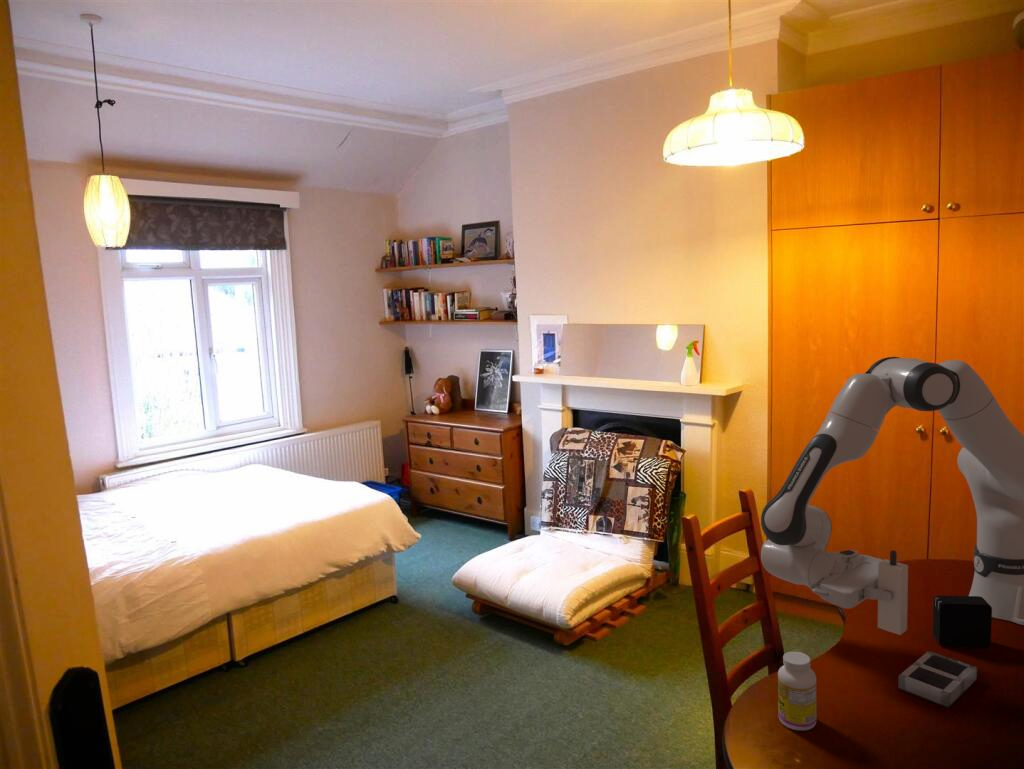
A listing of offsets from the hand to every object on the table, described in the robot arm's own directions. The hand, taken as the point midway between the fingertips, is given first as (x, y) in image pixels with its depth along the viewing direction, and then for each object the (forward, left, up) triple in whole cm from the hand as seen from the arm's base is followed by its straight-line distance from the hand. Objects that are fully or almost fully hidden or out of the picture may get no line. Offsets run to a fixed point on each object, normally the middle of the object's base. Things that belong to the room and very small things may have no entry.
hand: (897, 593), depth 149 cm
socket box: (-5, +6, -17) cm, 18 cm away
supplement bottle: (+26, +16, -17) cm, 35 cm away
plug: (+1, -1, -8) cm, 8 cm away
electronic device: (-18, -9, -17) cm, 26 cm away
